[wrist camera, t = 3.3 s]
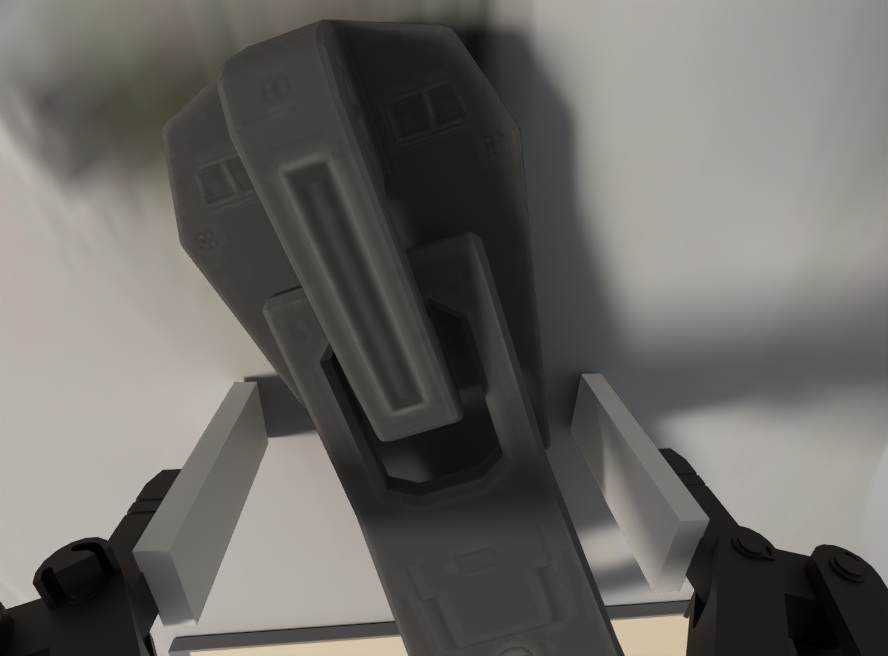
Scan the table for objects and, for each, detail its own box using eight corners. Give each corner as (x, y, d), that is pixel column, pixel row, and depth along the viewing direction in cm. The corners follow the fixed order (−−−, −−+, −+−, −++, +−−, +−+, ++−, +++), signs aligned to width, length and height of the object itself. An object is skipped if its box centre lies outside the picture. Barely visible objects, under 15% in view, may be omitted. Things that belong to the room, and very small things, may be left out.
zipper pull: (444, 798, 17) (-119, 100, 6) (433, 620, 23) (145, 102, 12) (673, 742, 17) (550, -151, 5) (601, 574, 22) (471, -16, 11)
